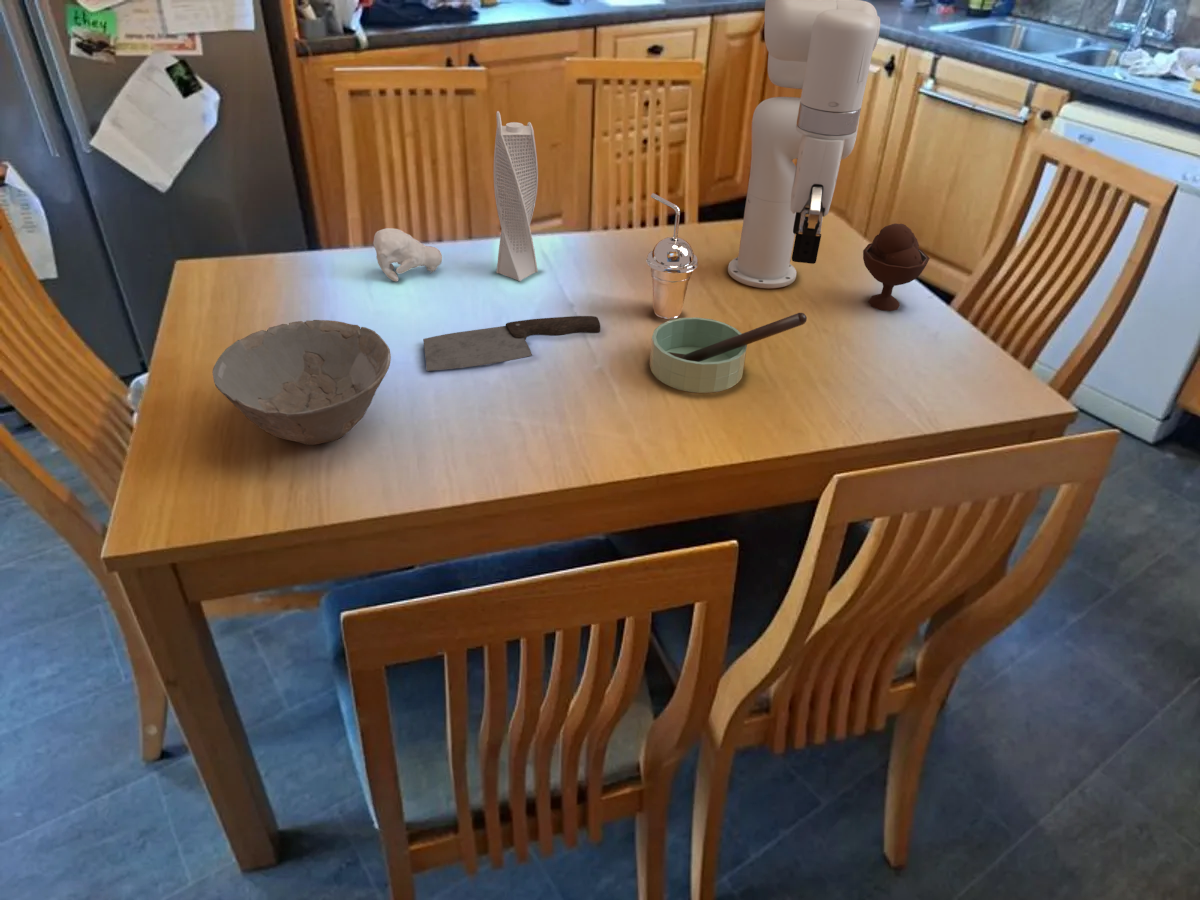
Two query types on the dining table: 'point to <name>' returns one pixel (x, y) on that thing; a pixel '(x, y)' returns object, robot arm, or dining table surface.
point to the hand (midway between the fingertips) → (803, 247)
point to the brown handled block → (744, 338)
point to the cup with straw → (670, 270)
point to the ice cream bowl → (893, 262)
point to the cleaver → (498, 341)
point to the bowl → (692, 337)
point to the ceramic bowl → (304, 378)
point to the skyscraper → (515, 197)
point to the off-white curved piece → (403, 252)
